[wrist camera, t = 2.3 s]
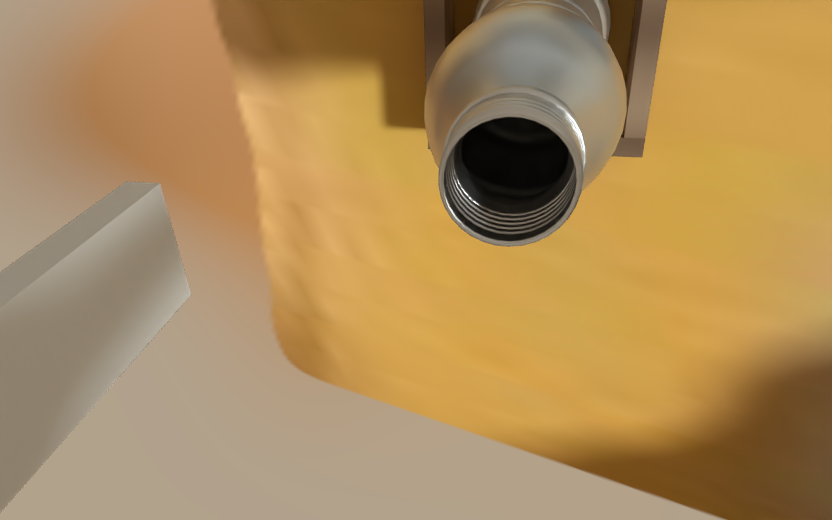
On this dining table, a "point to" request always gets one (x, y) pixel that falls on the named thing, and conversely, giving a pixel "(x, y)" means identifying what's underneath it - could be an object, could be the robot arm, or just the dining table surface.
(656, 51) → the walnut collar
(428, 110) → the silver metal bottle
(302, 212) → the dining table surface
